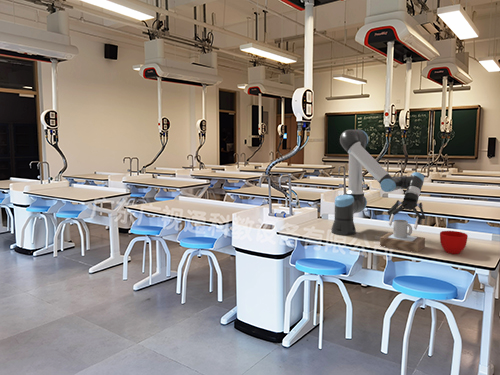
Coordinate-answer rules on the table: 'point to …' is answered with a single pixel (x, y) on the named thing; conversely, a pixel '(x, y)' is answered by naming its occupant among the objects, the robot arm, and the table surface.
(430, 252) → the table surface
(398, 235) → the cup
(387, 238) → the plinth
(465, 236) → the ceramic cup
